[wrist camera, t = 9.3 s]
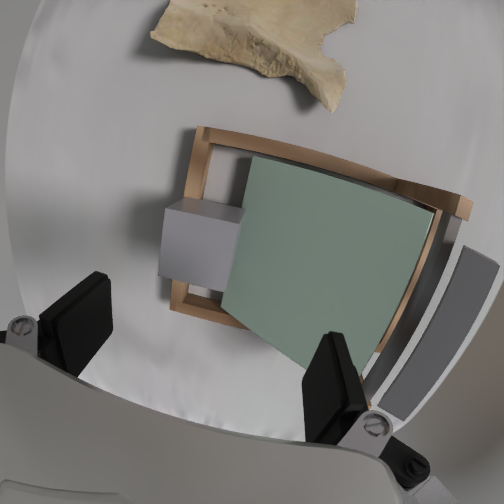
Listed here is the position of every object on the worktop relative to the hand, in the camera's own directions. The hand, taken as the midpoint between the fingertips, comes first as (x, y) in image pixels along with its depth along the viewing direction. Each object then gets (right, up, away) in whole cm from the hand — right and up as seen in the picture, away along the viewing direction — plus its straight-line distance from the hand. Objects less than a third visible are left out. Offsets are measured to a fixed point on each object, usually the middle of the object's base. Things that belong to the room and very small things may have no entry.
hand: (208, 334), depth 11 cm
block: (+1, +4, +10) cm, 10 cm away
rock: (+4, +24, +7) cm, 26 cm away
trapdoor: (+8, +1, +8) cm, 11 cm away
